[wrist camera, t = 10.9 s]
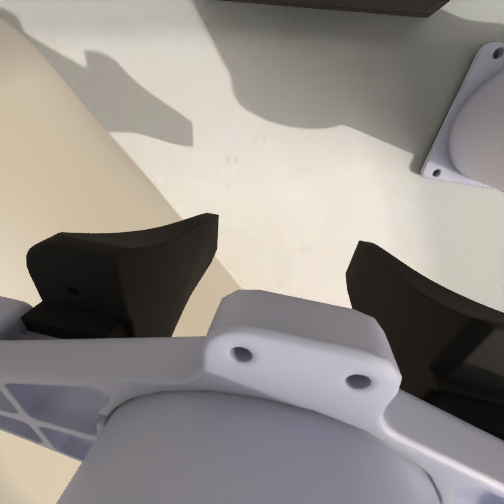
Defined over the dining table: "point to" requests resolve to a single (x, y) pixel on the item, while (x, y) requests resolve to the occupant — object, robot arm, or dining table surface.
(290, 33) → the dining table surface
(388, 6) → the tray
